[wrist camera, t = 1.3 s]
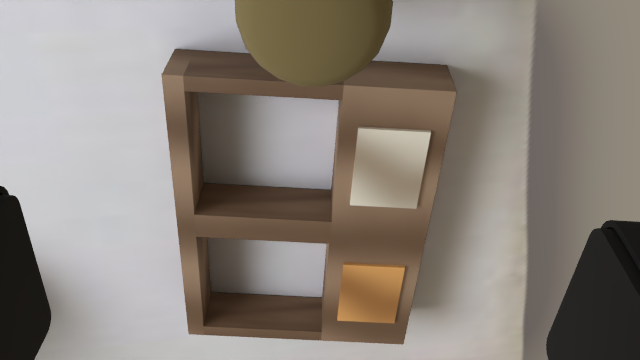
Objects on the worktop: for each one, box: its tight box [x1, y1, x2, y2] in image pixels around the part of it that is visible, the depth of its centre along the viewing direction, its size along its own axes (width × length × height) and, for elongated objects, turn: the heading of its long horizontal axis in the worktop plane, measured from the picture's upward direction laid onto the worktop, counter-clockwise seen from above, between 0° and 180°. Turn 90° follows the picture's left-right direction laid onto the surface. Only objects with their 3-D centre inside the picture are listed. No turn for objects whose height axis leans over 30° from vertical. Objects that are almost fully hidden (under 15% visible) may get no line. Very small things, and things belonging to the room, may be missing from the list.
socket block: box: [162, 49, 457, 344], centre depth 35 cm, size 18×14×3 cm
